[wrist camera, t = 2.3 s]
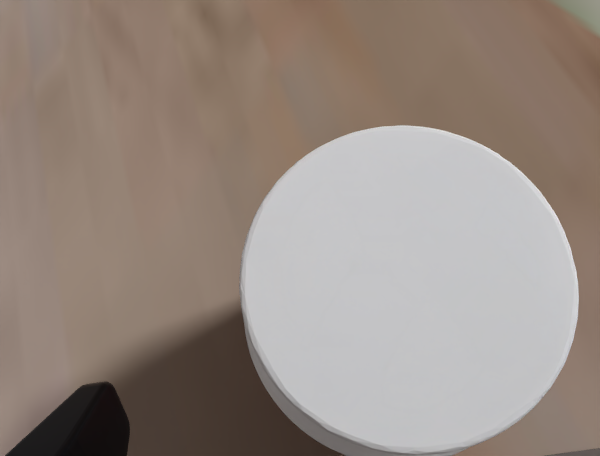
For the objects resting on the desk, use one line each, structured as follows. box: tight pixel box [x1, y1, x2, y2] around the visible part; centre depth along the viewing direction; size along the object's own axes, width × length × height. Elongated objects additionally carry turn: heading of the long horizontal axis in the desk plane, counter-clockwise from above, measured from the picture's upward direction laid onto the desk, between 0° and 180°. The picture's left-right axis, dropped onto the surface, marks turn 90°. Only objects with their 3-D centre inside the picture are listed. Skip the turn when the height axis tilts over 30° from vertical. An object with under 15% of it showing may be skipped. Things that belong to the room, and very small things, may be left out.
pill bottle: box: [239, 125, 579, 456], centre depth 12 cm, size 6×6×10 cm
